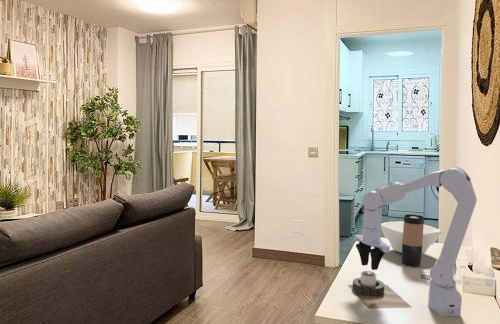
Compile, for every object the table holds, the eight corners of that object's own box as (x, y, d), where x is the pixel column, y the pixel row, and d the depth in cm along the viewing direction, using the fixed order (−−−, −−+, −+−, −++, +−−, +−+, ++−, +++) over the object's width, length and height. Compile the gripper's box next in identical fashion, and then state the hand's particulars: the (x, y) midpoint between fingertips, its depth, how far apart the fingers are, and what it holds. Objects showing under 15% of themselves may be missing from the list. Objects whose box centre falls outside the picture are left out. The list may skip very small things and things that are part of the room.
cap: (376, 293, 138) (377, 276, 137) (360, 292, 139) (361, 274, 138) (374, 287, 142) (375, 271, 142) (359, 286, 143) (360, 269, 143)
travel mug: (422, 263, 173) (425, 216, 171) (419, 268, 166) (422, 219, 164) (402, 260, 177) (406, 213, 175) (399, 265, 170) (402, 216, 168)
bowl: (372, 247, 194) (373, 222, 193) (409, 243, 203) (410, 220, 202) (407, 262, 174) (408, 235, 173) (446, 257, 182) (448, 231, 181)
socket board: (411, 310, 128) (412, 299, 128) (367, 311, 127) (368, 300, 126) (385, 286, 146) (386, 277, 146) (347, 287, 145) (347, 277, 145)
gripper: (397, 231, 134) (394, 272, 135) (365, 221, 147) (363, 259, 148) (381, 233, 131) (378, 275, 132) (350, 223, 143) (347, 261, 145)
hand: (369, 267), depth 140 cm, fingers open, 4 cm apart
